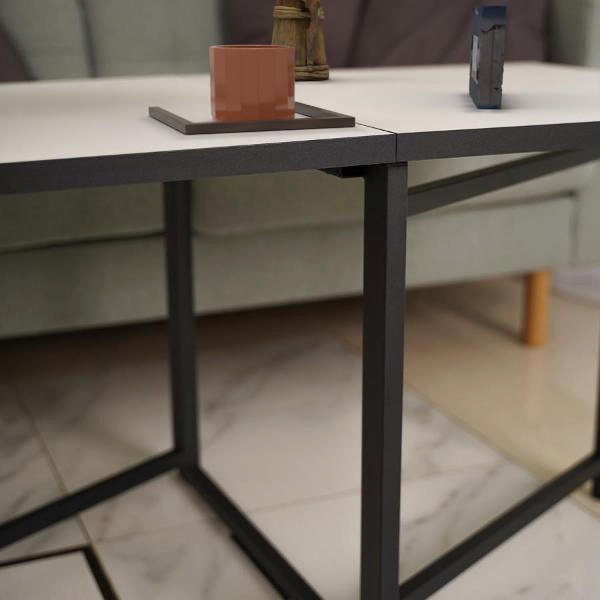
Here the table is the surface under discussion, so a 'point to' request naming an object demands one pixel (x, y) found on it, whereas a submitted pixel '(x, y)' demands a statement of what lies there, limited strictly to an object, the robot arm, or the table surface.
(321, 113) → the frame
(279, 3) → the wooden mug
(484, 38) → the vhs cassette tape
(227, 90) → the cup
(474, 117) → the table surface
